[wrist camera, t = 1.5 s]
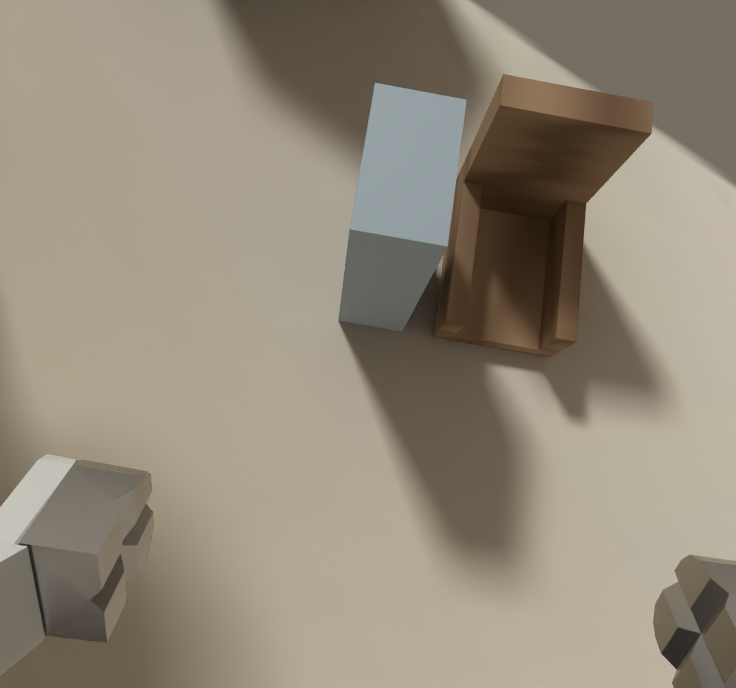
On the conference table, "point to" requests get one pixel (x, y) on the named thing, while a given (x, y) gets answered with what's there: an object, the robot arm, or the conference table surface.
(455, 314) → the brown wooden holder
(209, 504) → the conference table surface
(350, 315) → the blue-grey rectangular block
